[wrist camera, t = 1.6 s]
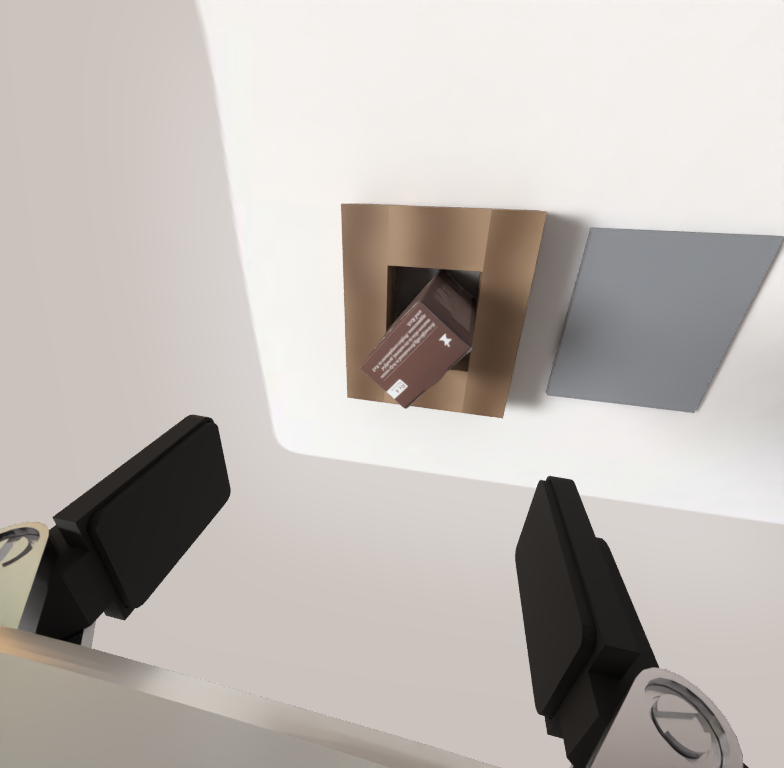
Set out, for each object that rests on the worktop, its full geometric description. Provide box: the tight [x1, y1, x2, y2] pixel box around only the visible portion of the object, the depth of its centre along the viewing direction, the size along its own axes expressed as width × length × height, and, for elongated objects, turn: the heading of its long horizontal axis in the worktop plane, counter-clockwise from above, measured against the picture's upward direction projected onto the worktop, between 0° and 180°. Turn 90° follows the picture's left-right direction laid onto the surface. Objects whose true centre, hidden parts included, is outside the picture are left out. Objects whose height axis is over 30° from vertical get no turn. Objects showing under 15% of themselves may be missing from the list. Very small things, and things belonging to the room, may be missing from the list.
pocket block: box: [341, 204, 547, 418], centre depth 29 cm, size 14×16×4 cm
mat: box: [546, 228, 784, 413], centre depth 28 cm, size 12×14×1 cm
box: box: [360, 269, 476, 408], centre depth 26 cm, size 6×4×12 cm
